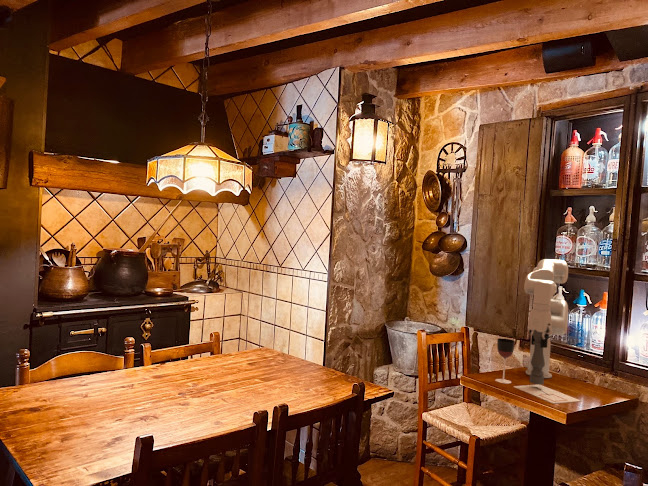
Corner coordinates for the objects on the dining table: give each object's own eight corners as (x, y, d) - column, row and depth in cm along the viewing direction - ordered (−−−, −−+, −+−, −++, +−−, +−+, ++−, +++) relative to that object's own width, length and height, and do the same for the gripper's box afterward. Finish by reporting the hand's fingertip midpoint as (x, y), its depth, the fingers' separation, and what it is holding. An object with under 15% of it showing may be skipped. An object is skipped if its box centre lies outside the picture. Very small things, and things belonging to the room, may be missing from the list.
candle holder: (545, 385, 236) (548, 331, 236) (530, 383, 237) (534, 330, 237) (542, 381, 242) (545, 329, 242) (528, 380, 243) (531, 328, 243)
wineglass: (495, 382, 246) (497, 341, 246) (494, 377, 254) (497, 337, 254) (512, 384, 244) (515, 343, 243) (511, 380, 252) (514, 339, 252)
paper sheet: (513, 386, 240) (513, 386, 240) (539, 385, 246) (539, 384, 246) (553, 403, 218) (553, 402, 218) (581, 401, 223) (581, 400, 223)
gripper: (522, 304, 246) (519, 342, 246) (549, 310, 230) (546, 350, 230) (534, 304, 248) (531, 342, 249) (562, 310, 233) (559, 350, 233)
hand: (539, 345), depth 239 cm, fingers closed on candle holder, 5 cm apart
